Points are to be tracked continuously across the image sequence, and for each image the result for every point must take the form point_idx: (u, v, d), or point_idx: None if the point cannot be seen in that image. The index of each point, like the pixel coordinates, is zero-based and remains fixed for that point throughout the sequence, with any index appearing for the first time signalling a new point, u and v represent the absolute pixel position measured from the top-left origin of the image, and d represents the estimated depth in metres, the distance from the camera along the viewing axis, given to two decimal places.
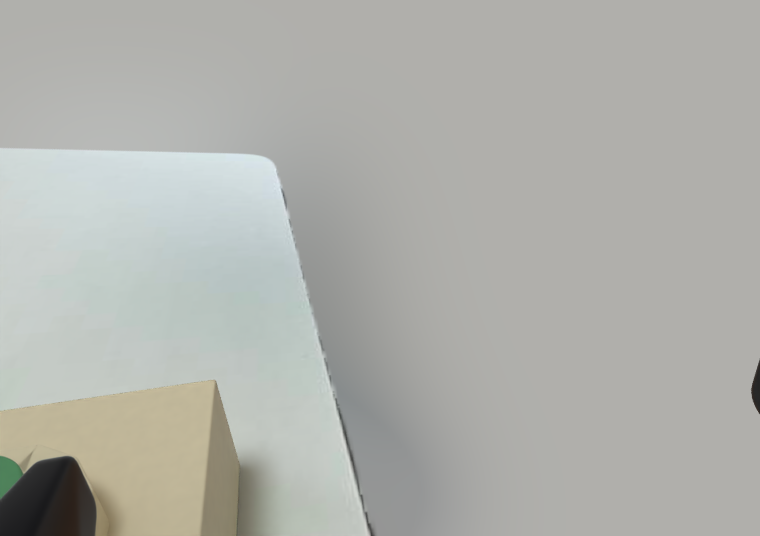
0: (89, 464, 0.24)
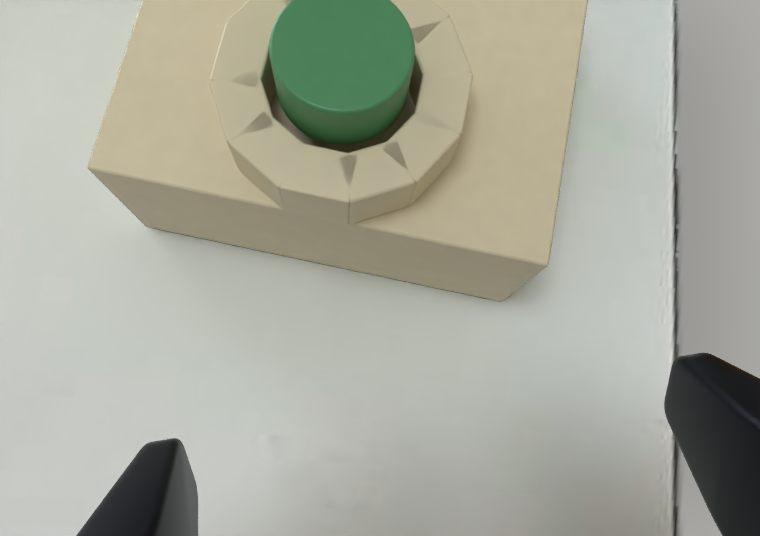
0: None
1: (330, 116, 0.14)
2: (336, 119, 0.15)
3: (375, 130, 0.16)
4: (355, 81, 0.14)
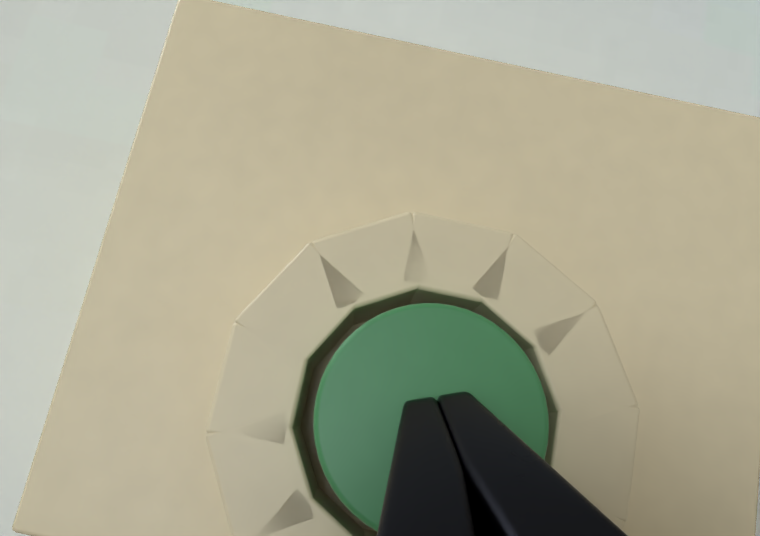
0: (548, 248, 0.12)
1: None
2: None
3: None
4: None
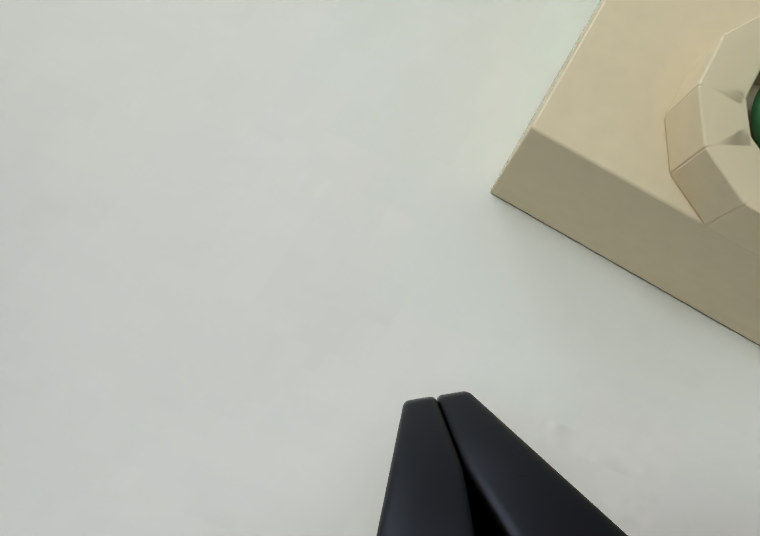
0: None
1: None
2: None
3: None
4: None
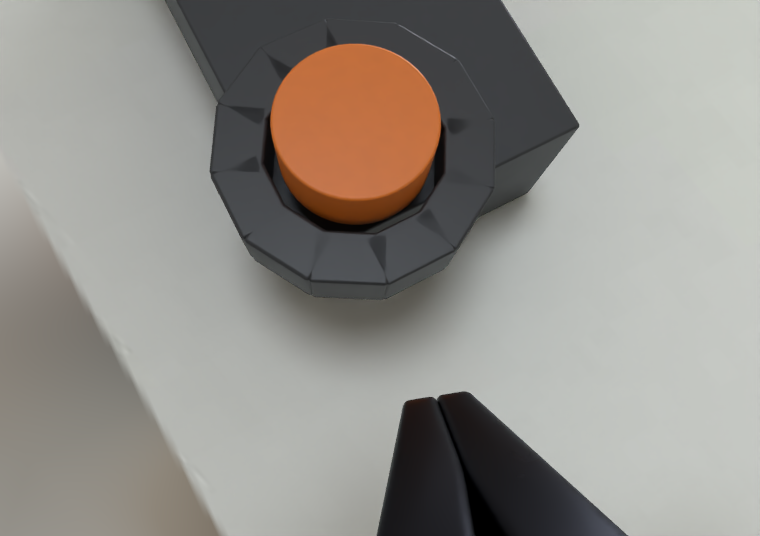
0: None
1: None
2: None
3: None
4: None
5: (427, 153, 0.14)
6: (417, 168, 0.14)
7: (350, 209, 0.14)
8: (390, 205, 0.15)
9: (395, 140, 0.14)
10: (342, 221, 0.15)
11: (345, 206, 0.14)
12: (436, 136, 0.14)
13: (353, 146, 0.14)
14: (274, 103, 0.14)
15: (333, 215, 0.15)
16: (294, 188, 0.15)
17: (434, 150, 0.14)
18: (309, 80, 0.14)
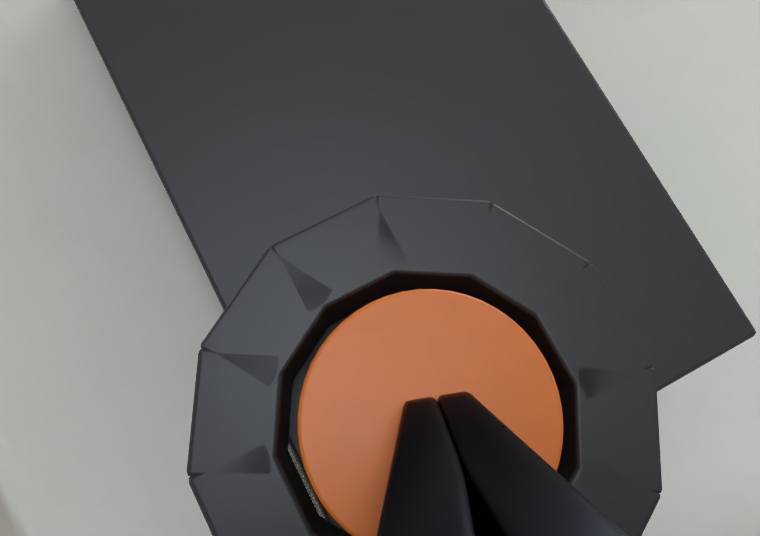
0: None
1: None
2: None
3: None
4: None
5: None
6: None
7: None
8: None
9: None
10: None
11: None
12: (558, 446, 0.09)
13: None
14: (303, 395, 0.09)
15: None
16: None
17: None
18: (357, 354, 0.09)
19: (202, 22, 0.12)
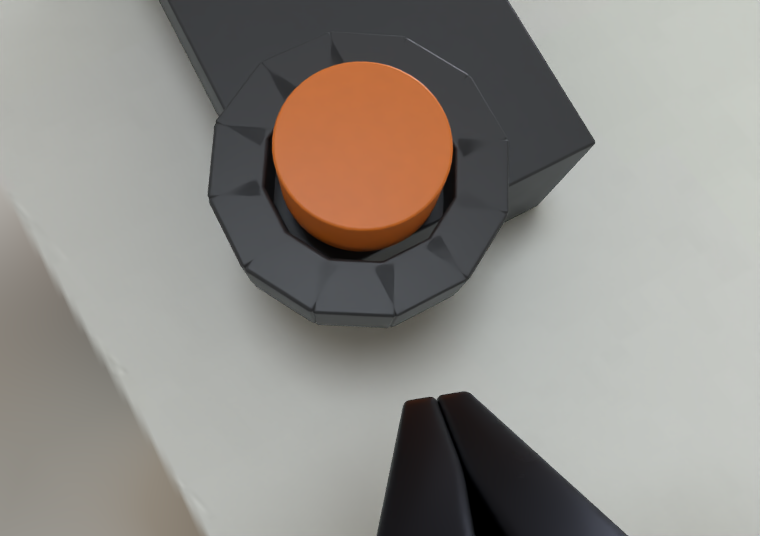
0: None
1: None
2: None
3: None
4: None
5: (439, 180, 0.13)
6: (428, 196, 0.13)
7: (357, 238, 0.13)
8: (399, 233, 0.14)
9: (404, 166, 0.13)
10: (347, 248, 0.14)
11: (351, 235, 0.13)
12: (448, 161, 0.13)
13: (360, 172, 0.13)
14: (276, 126, 0.13)
15: (338, 243, 0.14)
16: (297, 214, 0.14)
17: (446, 176, 0.13)
18: (313, 101, 0.13)
19: None
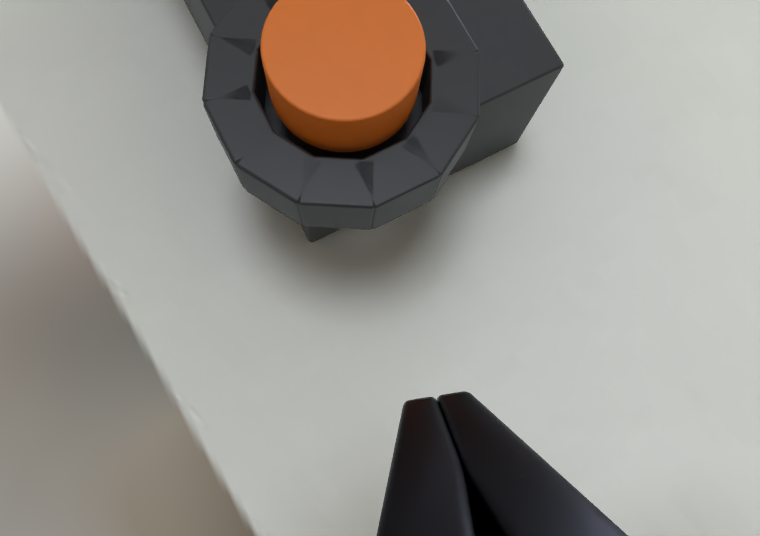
0: None
1: None
2: None
3: None
4: None
5: (412, 77, 0.14)
6: (402, 91, 0.14)
7: (338, 132, 0.15)
8: (377, 130, 0.15)
9: (381, 64, 0.14)
10: (331, 148, 0.16)
11: (333, 129, 0.15)
12: (421, 61, 0.15)
13: (340, 69, 0.14)
14: (264, 28, 0.15)
15: (321, 141, 0.15)
16: (284, 114, 0.15)
17: (419, 74, 0.14)
18: (298, 7, 0.15)
19: None
